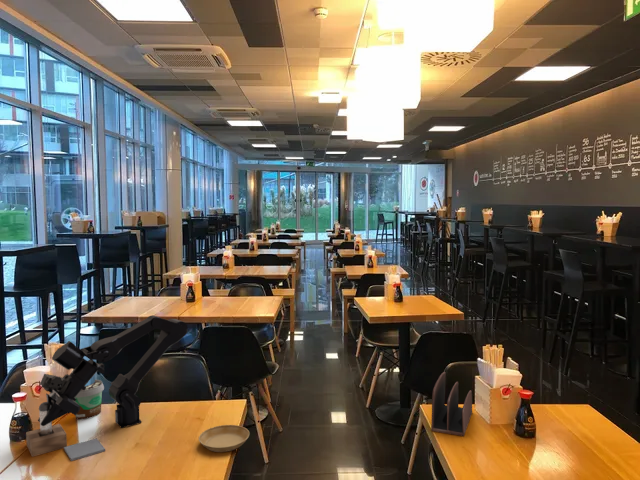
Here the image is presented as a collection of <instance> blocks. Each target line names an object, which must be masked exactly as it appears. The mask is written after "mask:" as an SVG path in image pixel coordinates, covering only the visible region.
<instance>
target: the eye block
mask: <svg viewBox="0 0 640 480" xmlns="http://www.w3.org/2000/svg"><path fill="white" fill-rule="evenodd" d="M25 437H26V438H25V439H26V448H27V449H28V451H29V453H30V455H31V457H33V458H34V457H36V456H39V455H43V454H46V453H51V452H53V451H57V450H62V449H64V447H66V446H68V442H67V441H68V439H67V432H66V430H65V429H64V428H63V426H62V425H61V423H57V424H54V425H53V424H52V434H50V435H46V436H42V437H41V435H40V428H38V429H37V428H36V429H34V430H30V431H26V433H25Z"/></svg>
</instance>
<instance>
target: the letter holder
mask: <svg viewBox="0 0 640 480" xmlns="http://www.w3.org/2000/svg"><path fill="white" fill-rule="evenodd" d="M446 375H447V374H446V371H443V372H442V373H441V374H440V375H439V376H438V379H437V380H436V382H435V384H434V387H433V389H432V397H431V398H432V399H431V427H430V429H431V432H435V433H443V434H446V435H447V434H448V435H454V436H460V437H465V433H466V431H467V428H468V425H469V423H470V419H471V416H472V414H473V394H472V393H473V392H472V389H471V390H469V391H468V393H467V395H466V396H465V399H464V402H463V406H462V407H460V406H459V381H456V382H455V383H454V385H453V386H452V387H451V390H450V393H449V395H448V398H447V401H446V380H447V379H446V378H447V377H446ZM445 402H446V403H445Z"/></svg>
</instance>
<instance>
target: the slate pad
mask: <svg viewBox="0 0 640 480" xmlns="http://www.w3.org/2000/svg"><path fill="white" fill-rule="evenodd" d="M63 449H64V452H65V454H66V455H67V456H68V459H70V461H71V462H72V461H76V460H81V459H82V458H86V457H89V456H93V455H96V454H99V453H103V452H106V448H105V447H104V445H103V444H102V443H101V441H100V440H99V439H98V438H92V439H89V440H85V441H82V442H81V441H80V442H78V443H74V444H70V445H67V446H66V447H64V448H63Z"/></svg>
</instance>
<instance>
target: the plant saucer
mask: <svg viewBox="0 0 640 480" xmlns="http://www.w3.org/2000/svg"><path fill="white" fill-rule="evenodd" d="M249 437H250V431H249V430H248V428H246V427H244V426H241V425H236V424H223V425H218V426H217V425H216V426H213V427H210V428H207V429H206V430H204V431H202V433H200V435H199V436H198V442H199V443H200V444H201V445H202V446H203V448H206V449H207V450H209V451H211V452H216V453H225V452H231V451H234V450H237V449H239V448H240V447H241V446H242V445H244V443H246V441H247V440H248V438H249Z"/></svg>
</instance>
